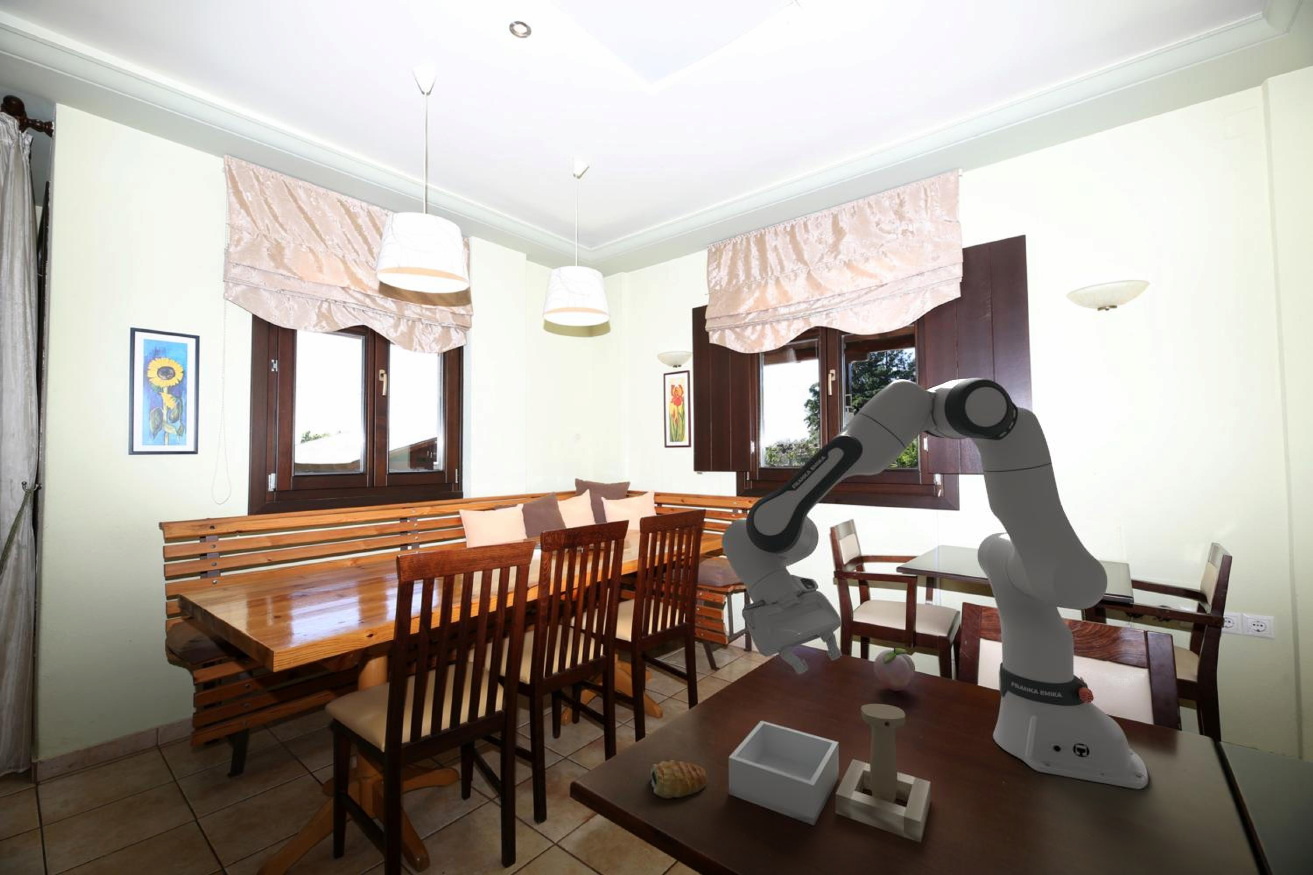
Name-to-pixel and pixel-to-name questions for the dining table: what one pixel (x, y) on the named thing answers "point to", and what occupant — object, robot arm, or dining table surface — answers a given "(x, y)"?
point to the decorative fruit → (894, 668)
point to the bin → (785, 771)
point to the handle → (883, 748)
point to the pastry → (677, 779)
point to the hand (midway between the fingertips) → (821, 664)
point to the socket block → (884, 802)
